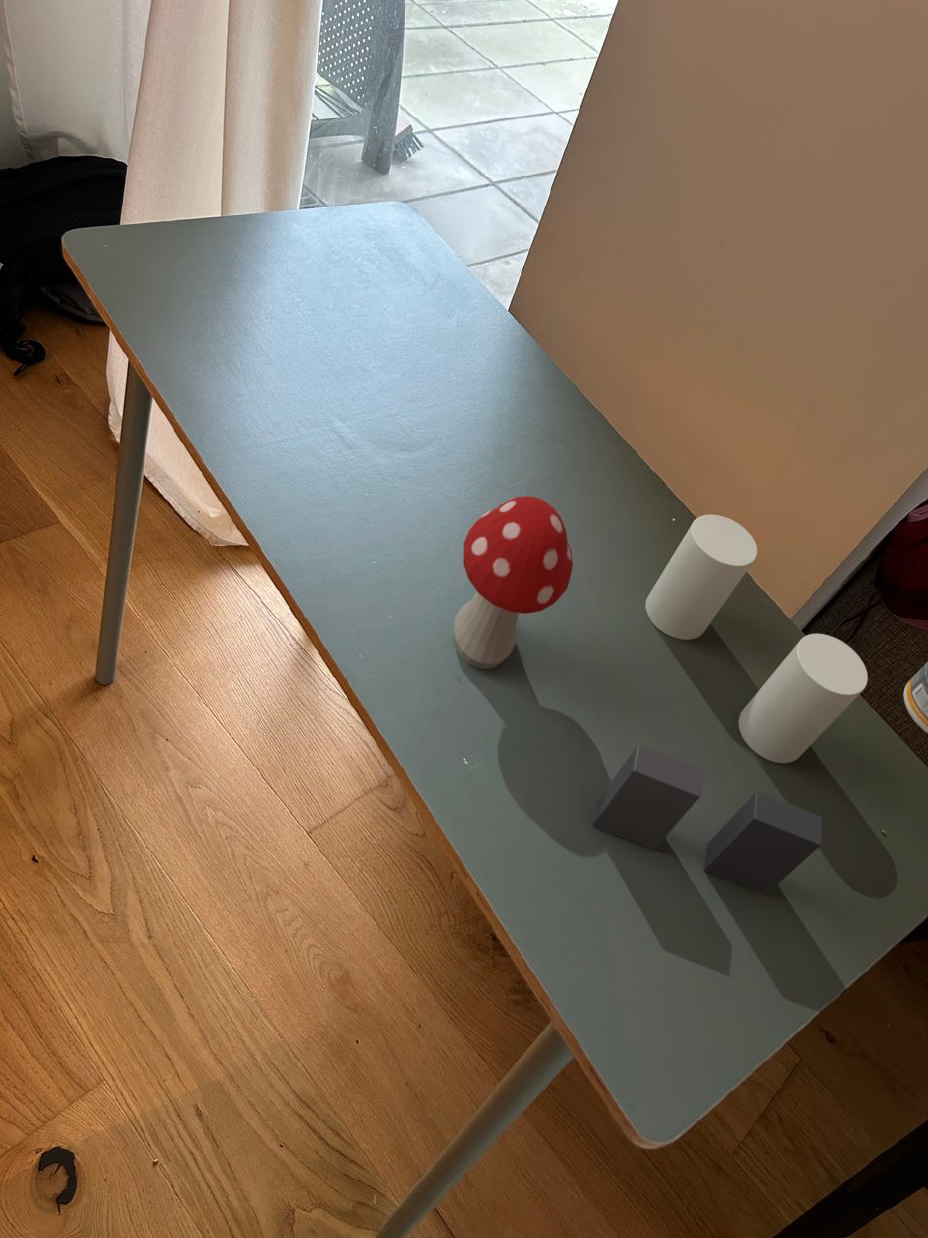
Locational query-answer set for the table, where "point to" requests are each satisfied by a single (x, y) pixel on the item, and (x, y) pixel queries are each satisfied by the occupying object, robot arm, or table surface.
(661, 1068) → the table surface
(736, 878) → the dark grey block
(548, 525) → the decorative mushroom
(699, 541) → the white cylinder
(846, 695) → the white cylinder
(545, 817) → the table surface
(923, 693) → the pill bottle
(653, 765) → the dark grey rectangular block
